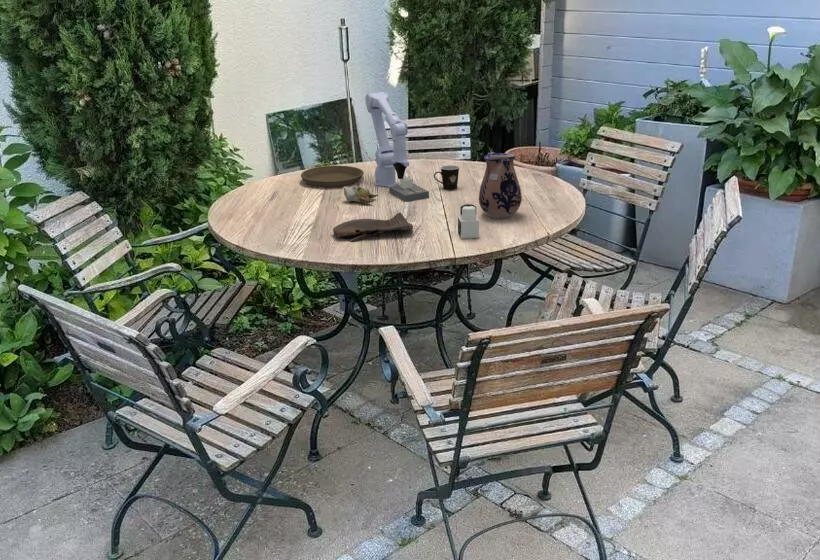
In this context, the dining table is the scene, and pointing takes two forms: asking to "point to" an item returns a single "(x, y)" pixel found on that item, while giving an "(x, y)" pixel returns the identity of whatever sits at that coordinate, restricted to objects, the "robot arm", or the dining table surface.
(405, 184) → the fader
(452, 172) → the coffee mug
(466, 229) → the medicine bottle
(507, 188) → the ceramic pitcher
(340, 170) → the plant saucer
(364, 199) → the ceramic sculpture
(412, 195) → the console
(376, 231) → the glove
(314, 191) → the dining table surface
